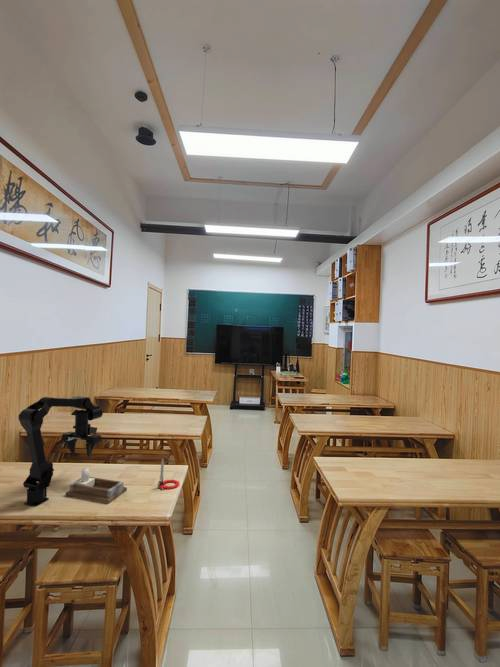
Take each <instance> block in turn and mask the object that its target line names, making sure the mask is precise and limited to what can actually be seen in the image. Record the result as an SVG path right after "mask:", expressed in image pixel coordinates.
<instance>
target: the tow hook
mask: <svg viewBox="0 0 500 667" xmlns="http://www.w3.org/2000/svg"><path fill="white" fill-rule="evenodd" d="M160 466H161V467H160V475H159V481H158V482H157V484H158V486H159V489H160V490H161V491H163V490H164V489H165V490H173V489H177V488H178V487H179V486H180V481H178V480H176V479H166V480H164V469H165V468H164V466H165V464H164V458H161V464H160ZM168 483H173V484H174V485H166V484H168Z"/></svg>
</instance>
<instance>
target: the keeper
mask: <svg viewBox="0 0 500 667" xmlns="http://www.w3.org/2000/svg"><path fill="white" fill-rule="evenodd" d="M89 477H90V468H89V467H84V468H82V469H81V478H82V479H81V480H80V481H78V482H76V483H75V484H79V485H85V486H91V487H93V486H94V485H95V479H94V478H95V477H94V478H89Z"/></svg>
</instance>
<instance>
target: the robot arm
mask: <svg viewBox="0 0 500 667" xmlns="http://www.w3.org/2000/svg"><path fill="white" fill-rule="evenodd" d="M53 407H55V408H56V407H63V408H64V407H67V408H68V407H69V408H73V409H74V410H73V411H72V412H71V413H70V415H71V416H74V425H73V426H72V429H74V431H67V432H64V433H63V434H61V436H60V437H61V439H60V440H61V441H63V443H65V445H66V447H67V448H68V450H69V451H70V453H71V455H75V452H76V442H77V440H84V441H85V442H86V443H85V449H86V454H87V457H91V455H92V452H93V450H94V448H95V445H96V444H97V443H98V444H99V442H101V441H102V435H101V434H97V432H98V427H95V426H91V423H89V421H93V420H97V419H100V418H102V417H103V415H104V414H103V413H104V412H103V410H102V408H101V407H100V404H95V405H94V404H93V403H92V401H91V398H90V397H87V396H79V395H78V396H73V397H71V398H70V397H69V398H65V397H49V396H44V397H41V398H40V399H39V400H37V401H36V402H34V403H31V404H30V405H28V406H27V407H25V408H24V409H23V410H21V411H20V413H19V414H18V421H19V423H20V426H21V427H22V428H23V429H24V431H25V433H26V437H27V443H28V447H29V453H30V459H31V466H30V468H29V475H28V476H27V477H26V479H25V480H24V482H22V484H23V487H24V488H25V489H26V488H27V489H26V501H25V502H23V505H25V506H26V505H27V506H31V507H37V506H39V505H41V504H43V503H45V502H46V501H49V499H50V498H49V497H47V495H48V494H47V491H48V490H47V489H48V487H50V484H51V481H52V477H53V476H54V472H55V470H54V463H53V462H52V461H47V459H46V453H45V452H46V451H45V447H44V441H43V437H42V435H43V434H42V430H41V428H42V426H43V424H44V418H45V417H46V416H47V415H48V414H49V412H50V409H51V408H53Z"/></svg>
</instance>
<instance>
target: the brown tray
mask: <svg viewBox="0 0 500 667" xmlns="http://www.w3.org/2000/svg"><path fill="white" fill-rule="evenodd" d="M89 478H94V479H95V485H94V486H93V487H91V486H85V485H79V484H75V483H76V482H78V481H80V480H81V479H82V477H80V478H79V479H76V480H75V481H73V482H70V483H69V490H68V491H65V497H69V498H74V499H81V500H85V501H90V502H96V503H102V504H108V505H109V504H111V502H113V501H115V500H116V499H118V498H119V497H120V496H122V495H124V493H126V492H127V491H128V487H126V486H124V485H125V484H124V482H123V481H119V480H113V479H105V478H99V477H92V476H89Z"/></svg>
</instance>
